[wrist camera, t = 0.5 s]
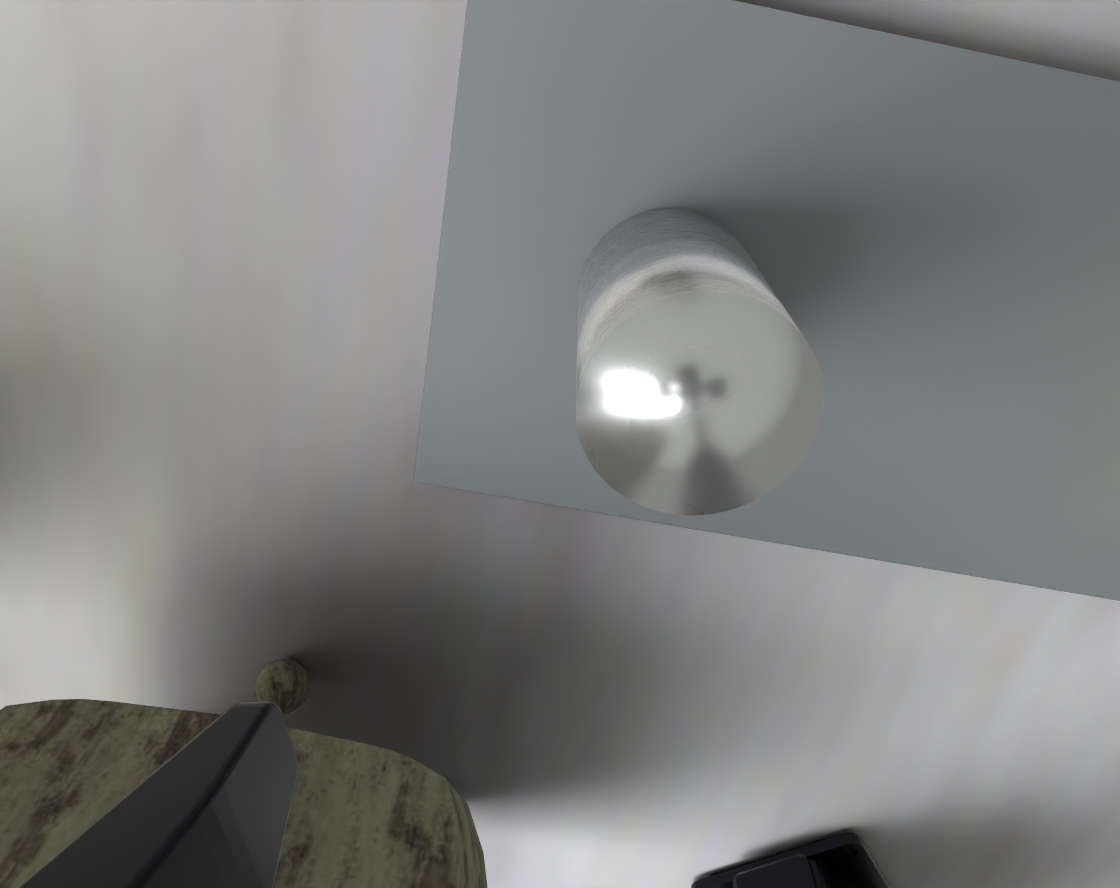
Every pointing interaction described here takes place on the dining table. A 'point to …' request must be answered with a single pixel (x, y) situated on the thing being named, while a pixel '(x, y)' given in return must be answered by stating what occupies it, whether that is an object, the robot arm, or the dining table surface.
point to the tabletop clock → (315, 813)
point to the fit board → (783, 286)
